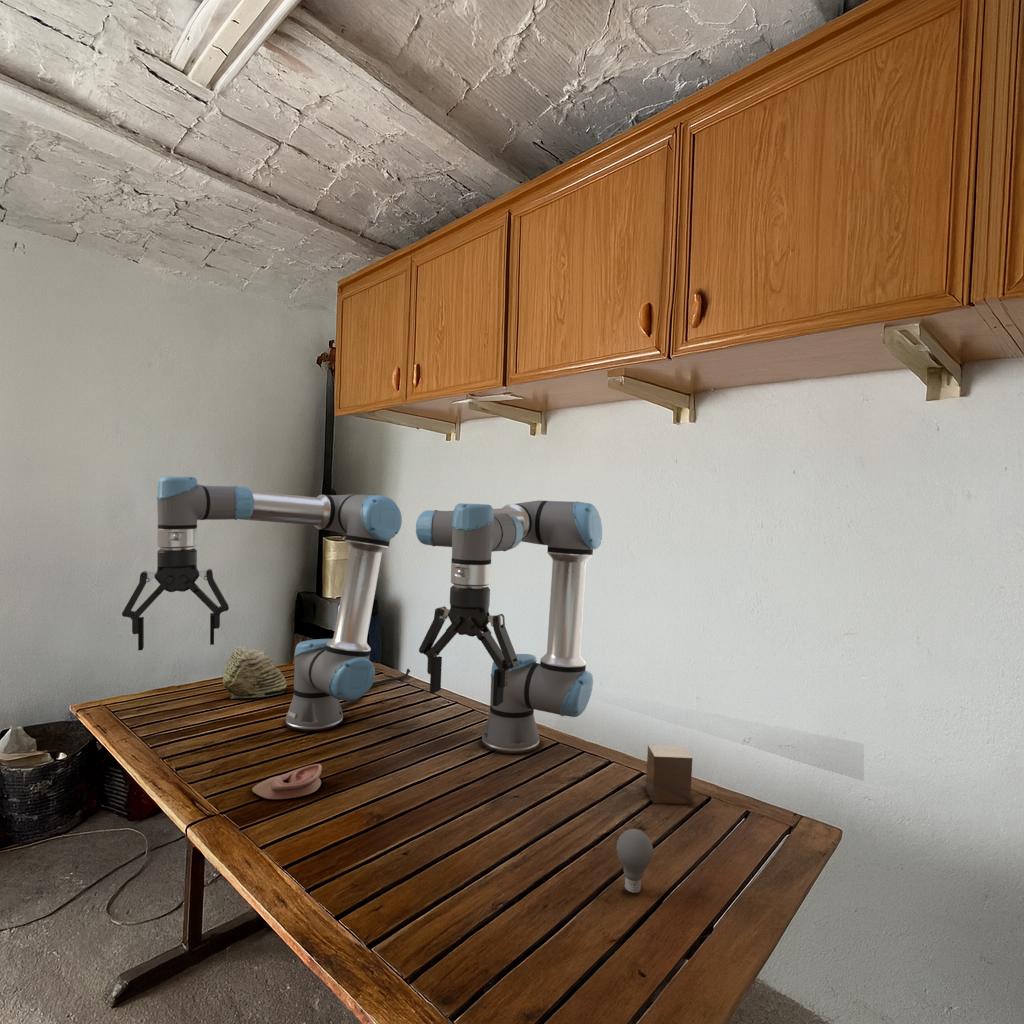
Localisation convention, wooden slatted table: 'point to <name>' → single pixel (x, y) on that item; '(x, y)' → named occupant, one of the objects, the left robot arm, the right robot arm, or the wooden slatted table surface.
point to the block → (669, 774)
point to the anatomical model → (291, 783)
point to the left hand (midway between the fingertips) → (177, 646)
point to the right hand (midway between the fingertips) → (465, 697)
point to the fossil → (252, 674)
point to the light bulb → (634, 857)
